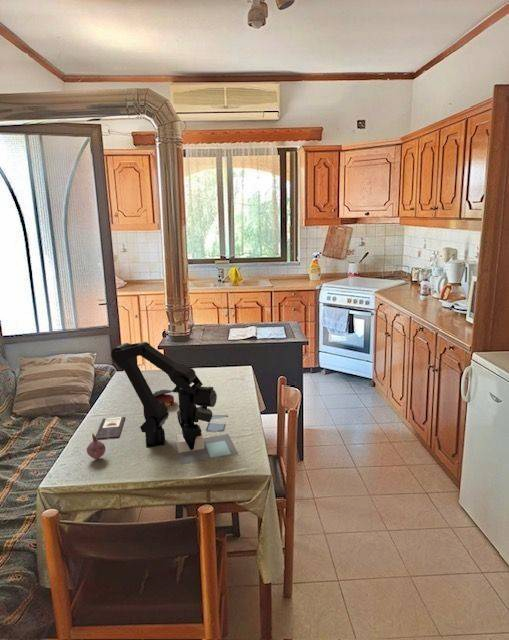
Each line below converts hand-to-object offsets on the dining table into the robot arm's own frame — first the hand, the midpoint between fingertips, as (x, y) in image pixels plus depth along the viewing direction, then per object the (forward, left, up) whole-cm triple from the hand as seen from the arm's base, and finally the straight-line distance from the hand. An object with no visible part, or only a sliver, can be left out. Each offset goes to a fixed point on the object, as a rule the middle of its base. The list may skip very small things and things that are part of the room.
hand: (190, 444), depth 167 cm
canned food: (-6, +44, -2) cm, 44 cm away
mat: (+5, -3, -1) cm, 6 cm away
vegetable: (-32, +3, -2) cm, 32 cm away
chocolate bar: (-28, +27, -2) cm, 39 cm away
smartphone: (+13, +16, -2) cm, 21 cm away
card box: (0, 0, -1) cm, 1 cm away
